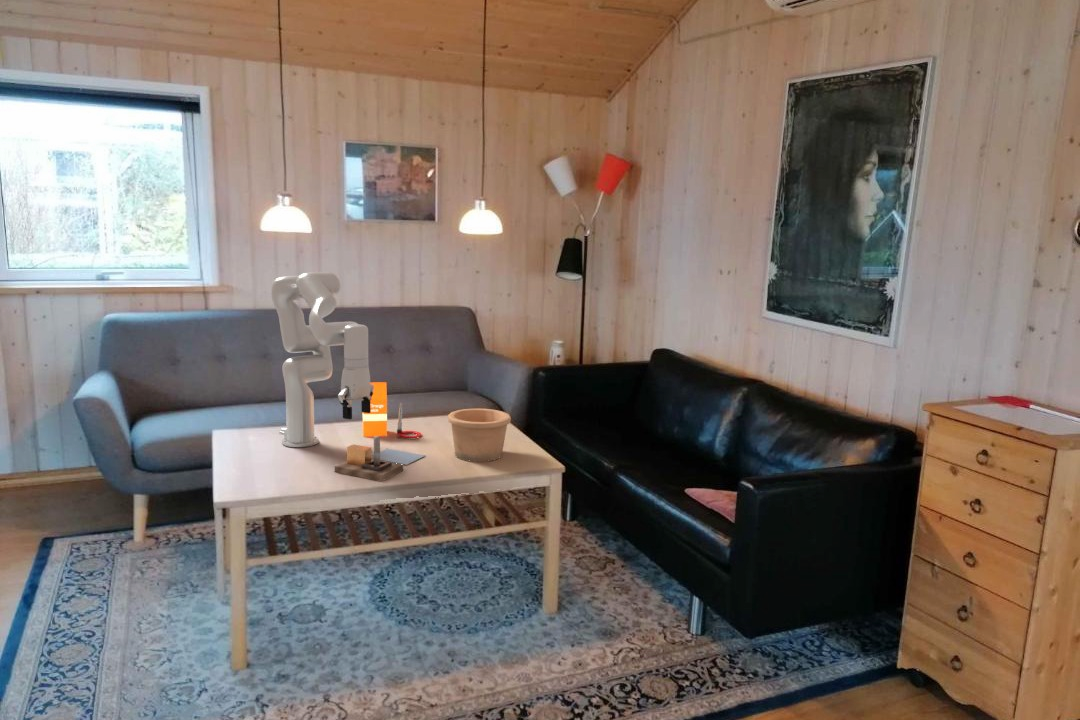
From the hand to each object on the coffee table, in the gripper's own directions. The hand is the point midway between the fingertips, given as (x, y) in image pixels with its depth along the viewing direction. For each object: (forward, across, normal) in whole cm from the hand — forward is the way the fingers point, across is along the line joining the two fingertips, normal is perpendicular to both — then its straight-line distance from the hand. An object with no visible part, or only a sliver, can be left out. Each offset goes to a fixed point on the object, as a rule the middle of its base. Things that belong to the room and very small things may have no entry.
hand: (356, 415), depth 242 cm
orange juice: (+18, -38, -21) cm, 47 cm away
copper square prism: (+16, 0, +4) cm, 17 cm away
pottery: (+18, -34, +26) cm, 47 cm away
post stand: (+18, 0, +4) cm, 19 cm away
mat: (+18, -17, +3) cm, 25 cm away
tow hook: (+18, -42, -8) cm, 47 cm away
